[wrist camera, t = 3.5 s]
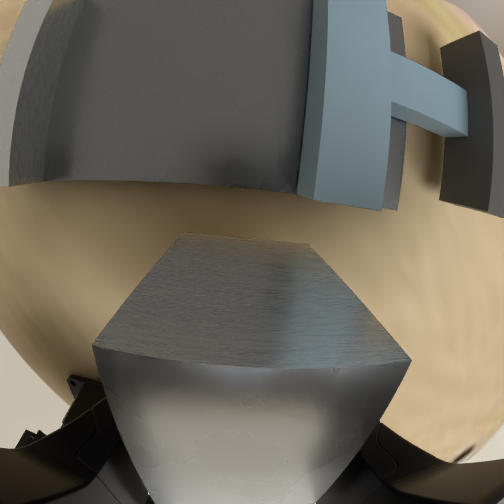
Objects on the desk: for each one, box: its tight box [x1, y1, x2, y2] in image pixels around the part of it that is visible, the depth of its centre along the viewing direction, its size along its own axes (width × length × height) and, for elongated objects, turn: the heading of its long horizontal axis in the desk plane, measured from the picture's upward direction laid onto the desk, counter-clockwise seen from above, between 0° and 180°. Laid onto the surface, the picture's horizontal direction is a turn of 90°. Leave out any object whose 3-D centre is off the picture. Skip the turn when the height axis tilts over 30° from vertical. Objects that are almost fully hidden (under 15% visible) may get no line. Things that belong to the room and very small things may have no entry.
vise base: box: [0, 0, 406, 211], centre depth 8 cm, size 11×20×4 cm, turn 84°
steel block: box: [92, 233, 412, 504], centre depth 7 cm, size 8×4×6 cm, turn 174°
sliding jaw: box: [297, 0, 504, 218], centre depth 8 cm, size 11×9×4 cm
